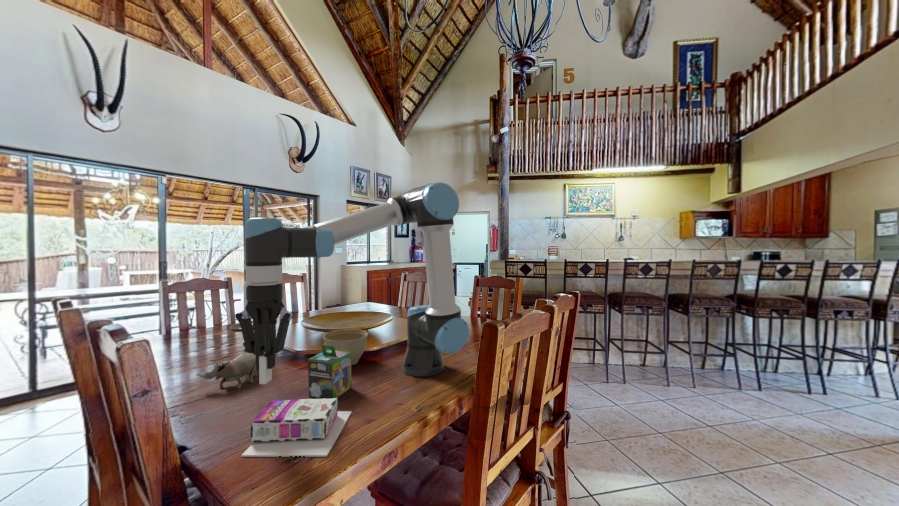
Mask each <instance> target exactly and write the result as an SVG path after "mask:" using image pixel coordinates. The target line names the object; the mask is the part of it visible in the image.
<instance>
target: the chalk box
mask: <svg viewBox="0 0 899 506" xmlns="http://www.w3.org/2000/svg"><path fill="white" fill-rule="evenodd" d="M320 348H321V351H322V352H319V353H317V354H315V355H314V356H312V357H309V358H308V359H307V371H308V372H307V375H308V376H307V377H308V397H311V398H315V399H321V398H322V399H323V398H337V399H338V398H339V397H340V396H342V395H344V394H345V393H346V392H347V391H349V390H351V389H352V388H353V383H352V381H353V379H352V365H351V352H344V351H335V348H334V346H329V345H324V344H322V345H321V347H320ZM327 348H328V349H330V350H327V351H326V349H327Z"/></svg>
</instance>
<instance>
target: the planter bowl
mask: <svg viewBox="0 0 899 506" xmlns="http://www.w3.org/2000/svg"><path fill="white" fill-rule="evenodd" d="M368 335H369V333H368V332H367V331H365V330H363V329H352V328H349V329H348V328H347V329H346V328H345V329H337V330H332V331H329V332H327V333H325V334H323V336H322V337H323V338H322V339H323V345H329V346H334V348H335V351H344V352H351V366H353V365H356V364H358V362H359V361H360V358H361V357H362V355H363V354H364V352H365V350H366V346H367V343H368V342H367V341H368ZM327 350H330V349H328V348H327V349H326V351H327Z"/></svg>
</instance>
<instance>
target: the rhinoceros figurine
mask: <svg viewBox="0 0 899 506" xmlns="http://www.w3.org/2000/svg"><path fill="white" fill-rule="evenodd" d="M196 375H198V376H199V377H200V378H203V379H205V380H211V379H214V378H215V380H216V381H217V380H220V379H221V380H220V381H219V389H220V388H221V389H223V387H224V385H223V384H225V383H232V382H235V381H237V383H238V386H237V389H241V387H242V385H243V384H242V379H241V378H243V377H245V376H247V378H248V380H247V383H248V382H251V383H254V380H253V378H254V377H257V376H259V374H258V372H257V368H256V356H255V354H252V353H247V352H246V353H245V352H244V353H240V354H238V355H237V356H235V357H234V358H233V359H231V360H227V361H224V362H222V363H221V364H219V363H218V362H217V361H215V365H214V368H213V369H211V370H210V371H208V370H207V371H206V372H205V374H204V373H203V374H201V373H199V372H197V373H196Z"/></svg>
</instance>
